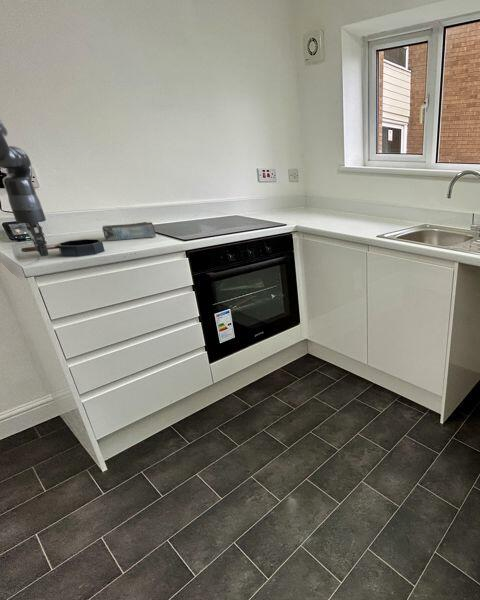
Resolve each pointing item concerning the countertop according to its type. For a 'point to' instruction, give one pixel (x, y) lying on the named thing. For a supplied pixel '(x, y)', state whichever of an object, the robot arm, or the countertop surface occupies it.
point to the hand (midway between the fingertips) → (42, 253)
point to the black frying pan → (74, 247)
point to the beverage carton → (129, 231)
